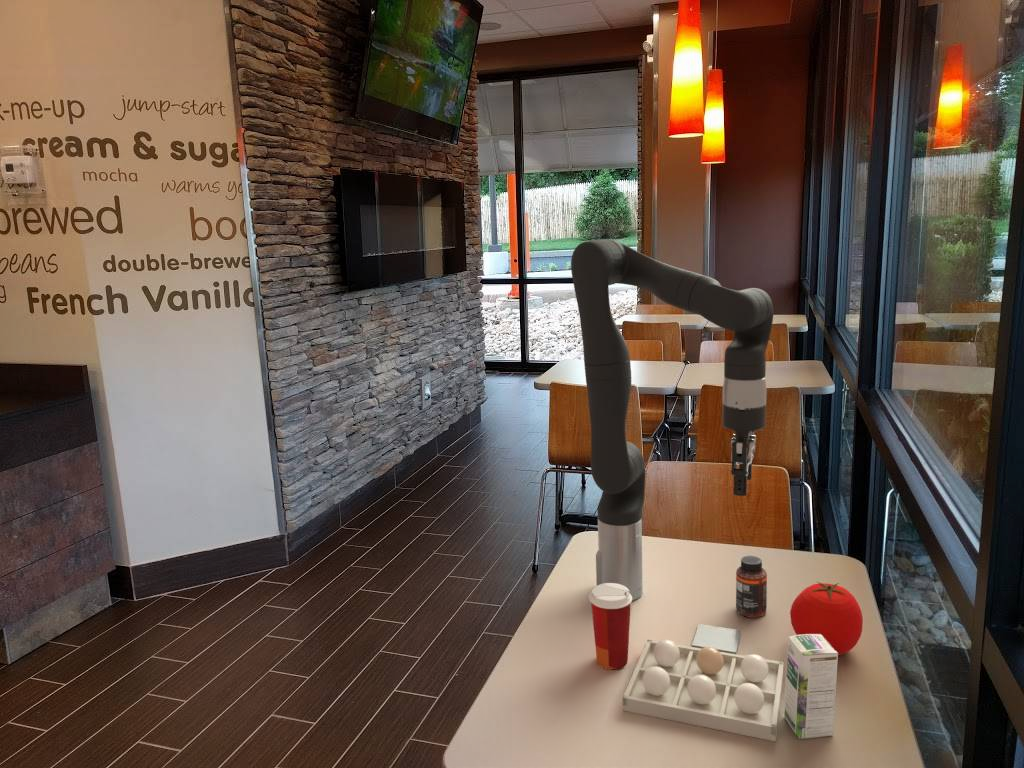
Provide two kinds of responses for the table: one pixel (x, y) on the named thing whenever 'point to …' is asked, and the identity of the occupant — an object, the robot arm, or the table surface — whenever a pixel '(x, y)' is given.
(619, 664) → the paper cup
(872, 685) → the table surface
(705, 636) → the slate coaster
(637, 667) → the carton
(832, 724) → the syrup box
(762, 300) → the robot arm
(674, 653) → the white egg back left
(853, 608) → the tomato
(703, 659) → the brown egg
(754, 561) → the supplement bottle
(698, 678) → the white egg front middle
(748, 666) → the white egg back right
